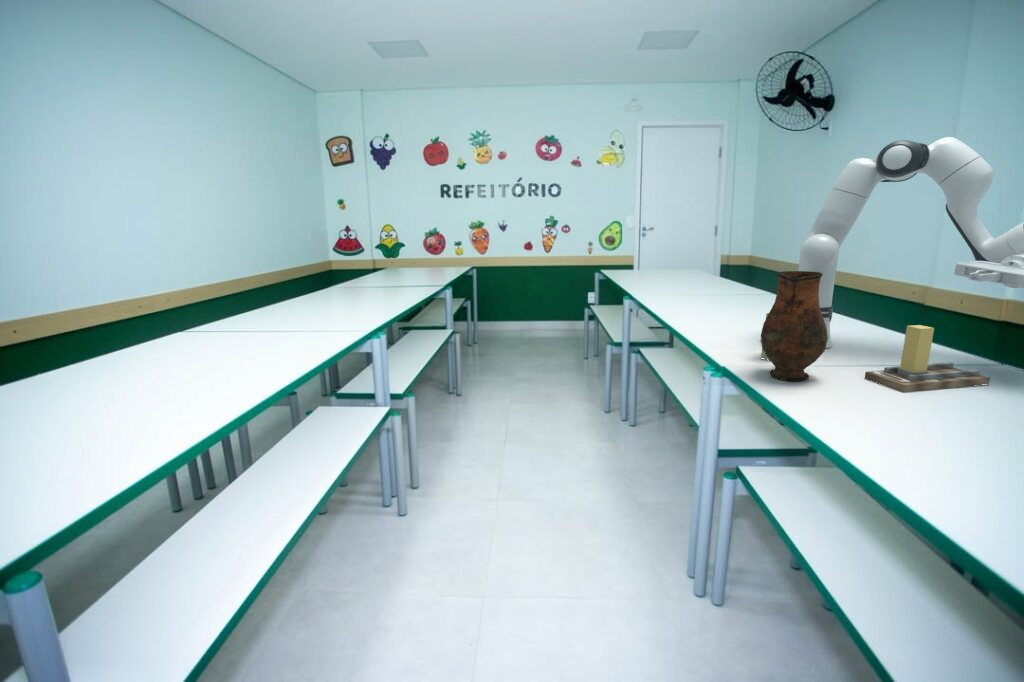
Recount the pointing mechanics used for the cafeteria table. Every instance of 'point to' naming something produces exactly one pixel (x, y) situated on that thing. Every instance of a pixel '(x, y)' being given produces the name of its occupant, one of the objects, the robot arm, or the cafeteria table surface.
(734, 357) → the cafeteria table surface
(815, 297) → the brown vase
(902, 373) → the slider tab
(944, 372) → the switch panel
